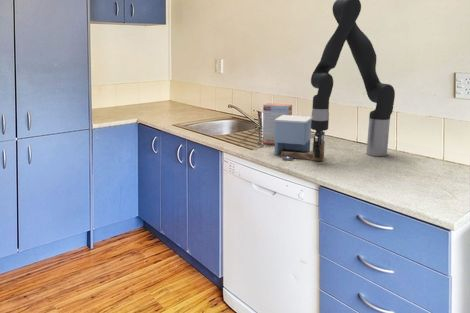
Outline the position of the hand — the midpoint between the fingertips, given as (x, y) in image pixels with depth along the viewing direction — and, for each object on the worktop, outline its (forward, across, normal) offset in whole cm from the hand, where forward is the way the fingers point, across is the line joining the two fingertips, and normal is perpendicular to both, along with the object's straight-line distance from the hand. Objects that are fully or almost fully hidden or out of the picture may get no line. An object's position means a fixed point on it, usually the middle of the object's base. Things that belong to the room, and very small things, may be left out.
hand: (318, 156), depth 193 cm
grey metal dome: (+2, -3, +13) cm, 14 cm away
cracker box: (+2, +25, +26) cm, 36 cm away
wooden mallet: (+1, 0, +7) cm, 8 cm away
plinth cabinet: (+2, +10, +14) cm, 17 cm away
